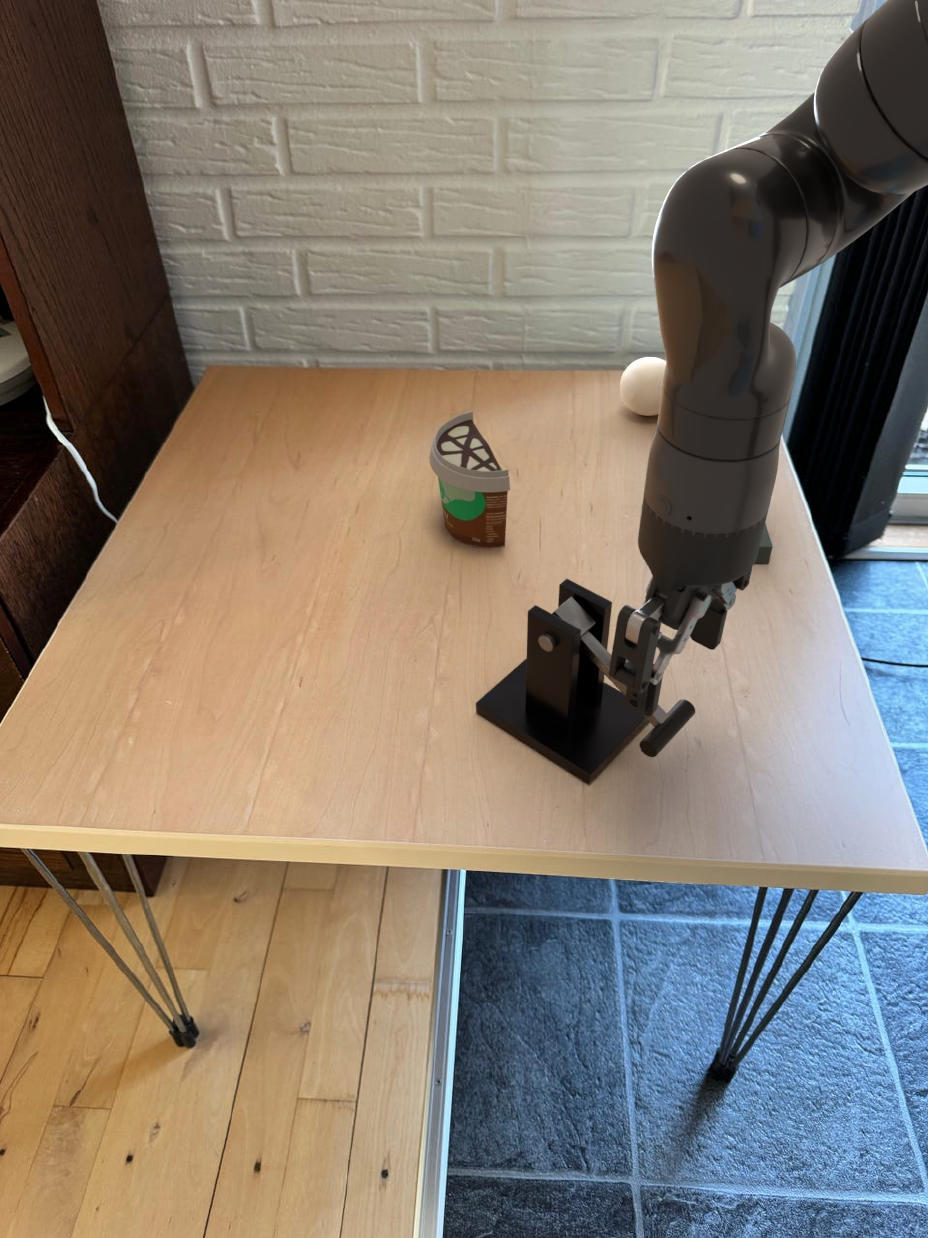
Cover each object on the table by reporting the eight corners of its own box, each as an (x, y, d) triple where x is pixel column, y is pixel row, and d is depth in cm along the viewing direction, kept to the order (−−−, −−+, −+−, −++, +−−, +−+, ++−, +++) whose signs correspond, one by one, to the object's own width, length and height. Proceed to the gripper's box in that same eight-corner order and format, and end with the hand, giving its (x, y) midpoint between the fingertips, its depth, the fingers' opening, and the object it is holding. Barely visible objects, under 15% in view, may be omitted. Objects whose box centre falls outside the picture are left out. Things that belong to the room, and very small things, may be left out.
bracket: (651, 719, 82) (669, 609, 73) (588, 785, 77) (599, 675, 69) (540, 655, 88) (544, 546, 79) (475, 712, 83) (472, 603, 75)
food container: (419, 498, 106) (414, 419, 99) (472, 487, 107) (470, 408, 101) (452, 566, 98) (448, 485, 91) (509, 553, 99) (510, 472, 92)
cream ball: (688, 416, 117) (696, 366, 112) (636, 430, 115) (642, 380, 110) (658, 390, 121) (664, 341, 117) (608, 404, 119) (612, 354, 115)
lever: (685, 719, 76) (702, 709, 74) (647, 762, 73) (662, 752, 71) (571, 599, 78) (584, 585, 76) (528, 635, 75) (540, 622, 73)
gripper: (698, 576, 53) (663, 760, 64) (818, 462, 61) (768, 644, 72) (587, 523, 57) (572, 706, 68) (713, 421, 64) (681, 601, 76)
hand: (673, 674), depth 70 cm, fingers open, 8 cm apart
